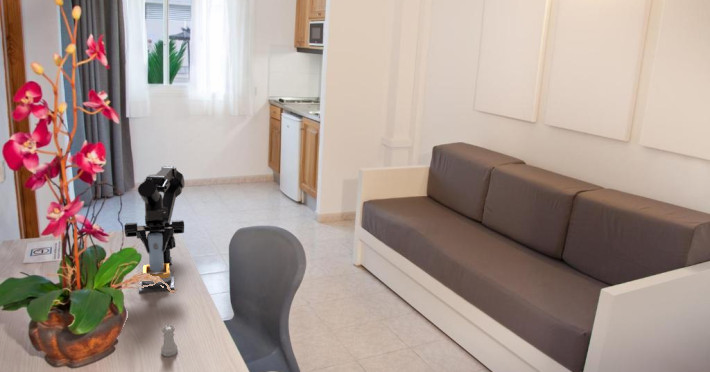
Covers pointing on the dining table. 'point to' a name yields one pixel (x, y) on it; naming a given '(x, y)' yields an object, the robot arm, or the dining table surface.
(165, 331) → the rook chess piece
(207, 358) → the dining table surface
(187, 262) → the dining table surface
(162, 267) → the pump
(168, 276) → the open square bin
